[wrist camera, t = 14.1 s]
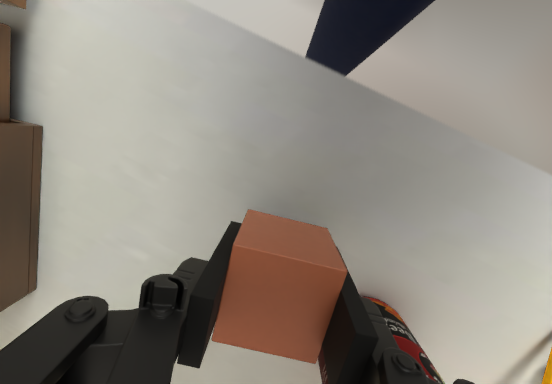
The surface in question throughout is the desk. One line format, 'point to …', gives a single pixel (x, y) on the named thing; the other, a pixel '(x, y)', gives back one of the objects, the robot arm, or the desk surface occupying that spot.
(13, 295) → the cabinet
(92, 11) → the desk surface
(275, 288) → the block
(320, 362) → the canned food
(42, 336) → the robot arm
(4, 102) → the drawer
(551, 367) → the pencil
